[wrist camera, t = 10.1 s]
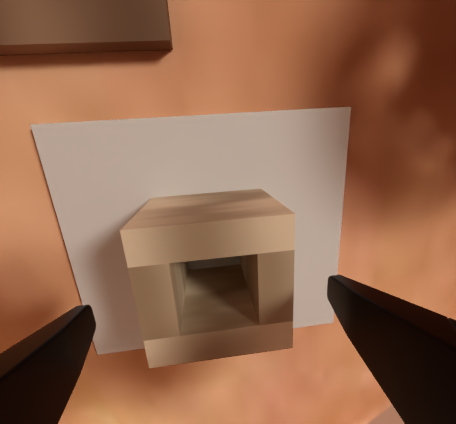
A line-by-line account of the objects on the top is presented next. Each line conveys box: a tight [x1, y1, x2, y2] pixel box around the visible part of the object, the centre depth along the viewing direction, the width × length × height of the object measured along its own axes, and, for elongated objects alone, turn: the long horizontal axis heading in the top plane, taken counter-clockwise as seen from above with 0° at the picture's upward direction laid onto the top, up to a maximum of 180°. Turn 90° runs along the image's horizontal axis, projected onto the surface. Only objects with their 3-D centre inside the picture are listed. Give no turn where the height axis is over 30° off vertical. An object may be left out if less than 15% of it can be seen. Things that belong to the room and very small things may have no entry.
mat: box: [30, 107, 351, 355], centre depth 14 cm, size 16×14×1 cm
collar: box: [120, 189, 295, 368], centre depth 11 cm, size 6×6×5 cm
